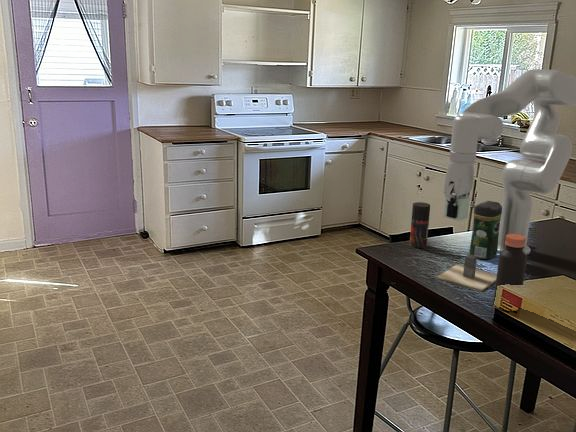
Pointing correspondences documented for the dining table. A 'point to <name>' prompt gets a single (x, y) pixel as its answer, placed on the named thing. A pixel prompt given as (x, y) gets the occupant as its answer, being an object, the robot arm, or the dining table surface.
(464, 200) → the pale green rectangular prism
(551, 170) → the robot arm
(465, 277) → the post stand
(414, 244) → the deodorant
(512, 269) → the bottle
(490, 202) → the coffee jar
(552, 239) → the dining table surface
